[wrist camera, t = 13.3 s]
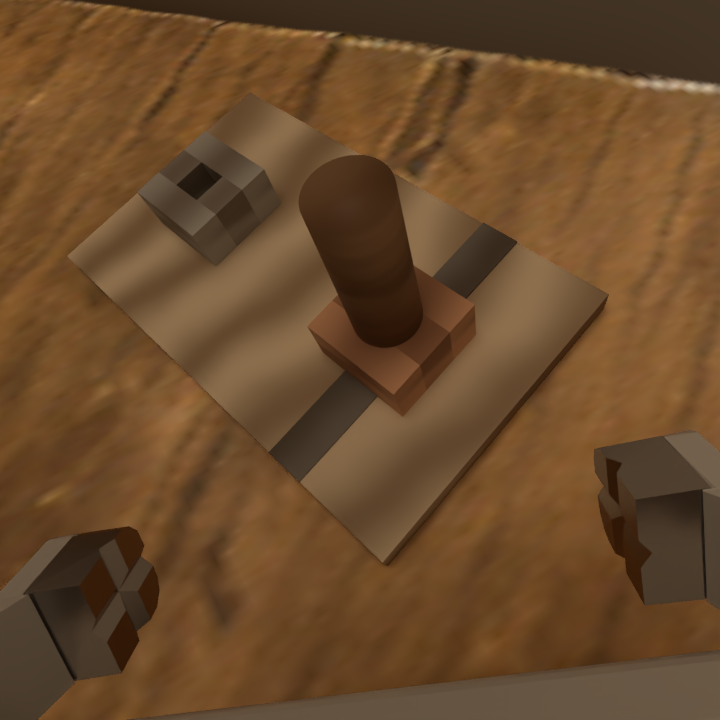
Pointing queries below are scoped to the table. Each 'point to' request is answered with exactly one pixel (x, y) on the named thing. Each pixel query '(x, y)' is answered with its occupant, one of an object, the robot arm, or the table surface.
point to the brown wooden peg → (364, 246)
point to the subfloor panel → (286, 357)
